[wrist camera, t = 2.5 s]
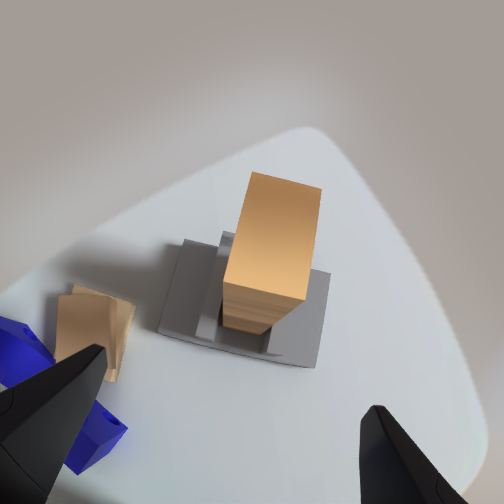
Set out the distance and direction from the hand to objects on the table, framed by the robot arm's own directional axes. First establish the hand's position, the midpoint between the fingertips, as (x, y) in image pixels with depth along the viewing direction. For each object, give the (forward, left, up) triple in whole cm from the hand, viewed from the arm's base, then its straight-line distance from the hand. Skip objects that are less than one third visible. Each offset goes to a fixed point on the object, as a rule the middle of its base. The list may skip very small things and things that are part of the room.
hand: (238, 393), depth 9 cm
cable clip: (-6, +13, -13) cm, 19 cm away
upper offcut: (0, +10, -11) cm, 15 cm away
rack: (+5, 0, -12) cm, 14 cm away
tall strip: (+5, 0, -11) cm, 12 cm away
